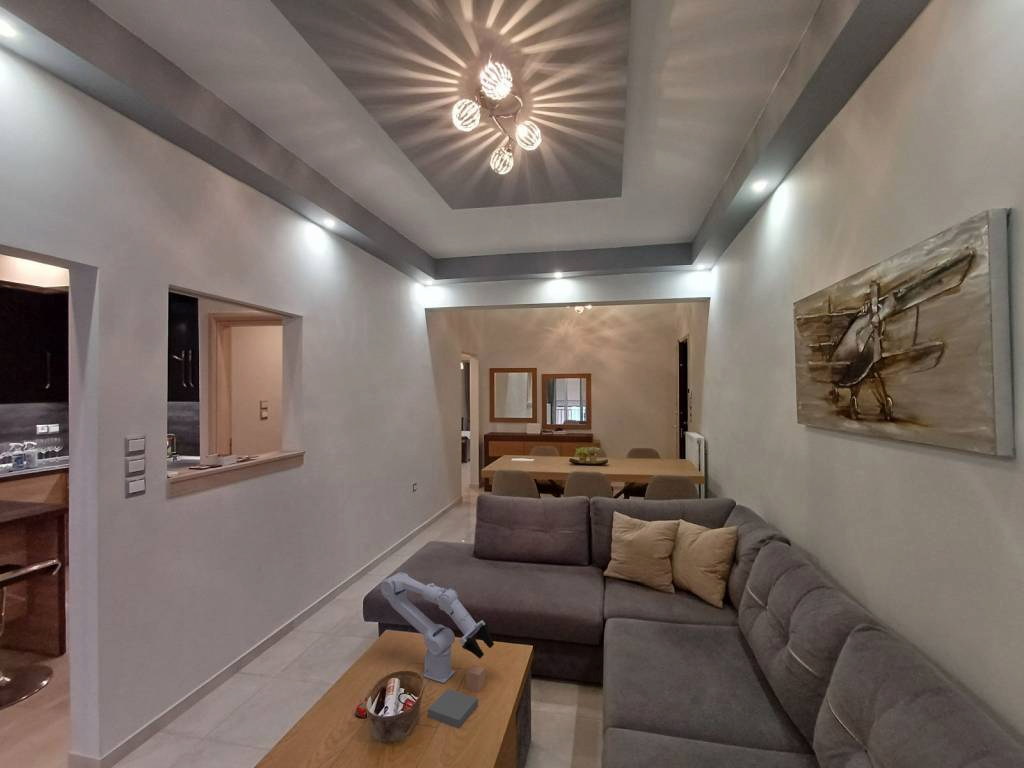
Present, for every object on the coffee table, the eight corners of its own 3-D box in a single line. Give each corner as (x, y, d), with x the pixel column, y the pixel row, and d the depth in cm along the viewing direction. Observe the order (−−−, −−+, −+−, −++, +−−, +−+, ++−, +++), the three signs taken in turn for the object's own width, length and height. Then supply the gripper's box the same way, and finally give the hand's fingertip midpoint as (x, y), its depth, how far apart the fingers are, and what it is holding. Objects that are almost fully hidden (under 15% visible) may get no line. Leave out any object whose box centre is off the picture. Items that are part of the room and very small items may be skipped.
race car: (361, 722, 154) (361, 709, 154) (352, 714, 158) (352, 702, 158) (395, 701, 164) (395, 689, 164) (385, 695, 168) (385, 683, 168)
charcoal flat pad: (427, 718, 156) (427, 709, 156) (447, 697, 167) (448, 688, 167) (458, 729, 151) (459, 720, 151) (477, 707, 162) (477, 698, 162)
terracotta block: (466, 688, 172) (466, 671, 172) (473, 680, 176) (473, 664, 176) (478, 692, 169) (478, 675, 169) (485, 684, 174) (485, 667, 174)
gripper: (458, 621, 168) (483, 655, 163) (479, 605, 181) (503, 635, 176) (447, 633, 170) (471, 666, 165) (468, 616, 183) (491, 646, 178)
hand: (487, 651), depth 171 cm, fingers open, 7 cm apart
